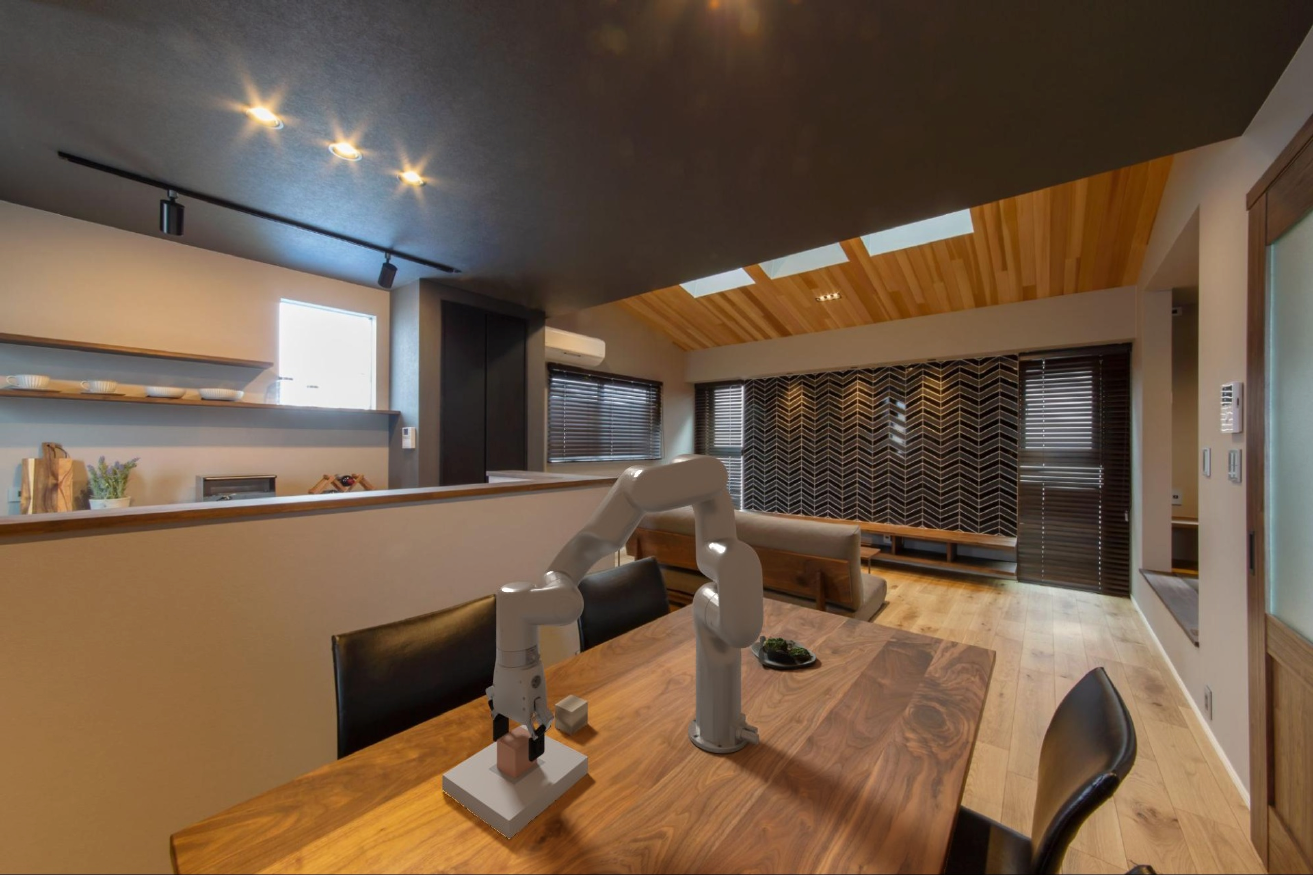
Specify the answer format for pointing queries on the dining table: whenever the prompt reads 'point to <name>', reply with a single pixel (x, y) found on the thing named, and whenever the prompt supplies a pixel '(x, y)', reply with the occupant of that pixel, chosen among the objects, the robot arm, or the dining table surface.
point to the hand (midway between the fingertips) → (518, 747)
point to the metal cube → (571, 714)
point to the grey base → (514, 785)
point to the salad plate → (783, 654)
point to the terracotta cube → (514, 752)
